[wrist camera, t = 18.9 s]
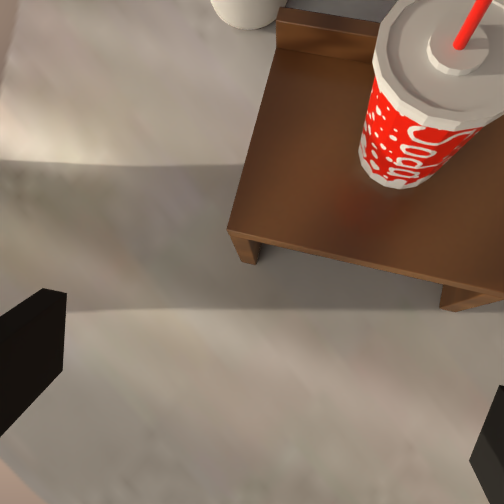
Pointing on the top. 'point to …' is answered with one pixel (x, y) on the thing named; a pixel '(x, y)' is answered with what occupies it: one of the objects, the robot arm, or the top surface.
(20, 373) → the robot arm
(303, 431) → the top surface
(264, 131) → the shelf
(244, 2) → the cup
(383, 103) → the beverage cup
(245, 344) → the top surface
